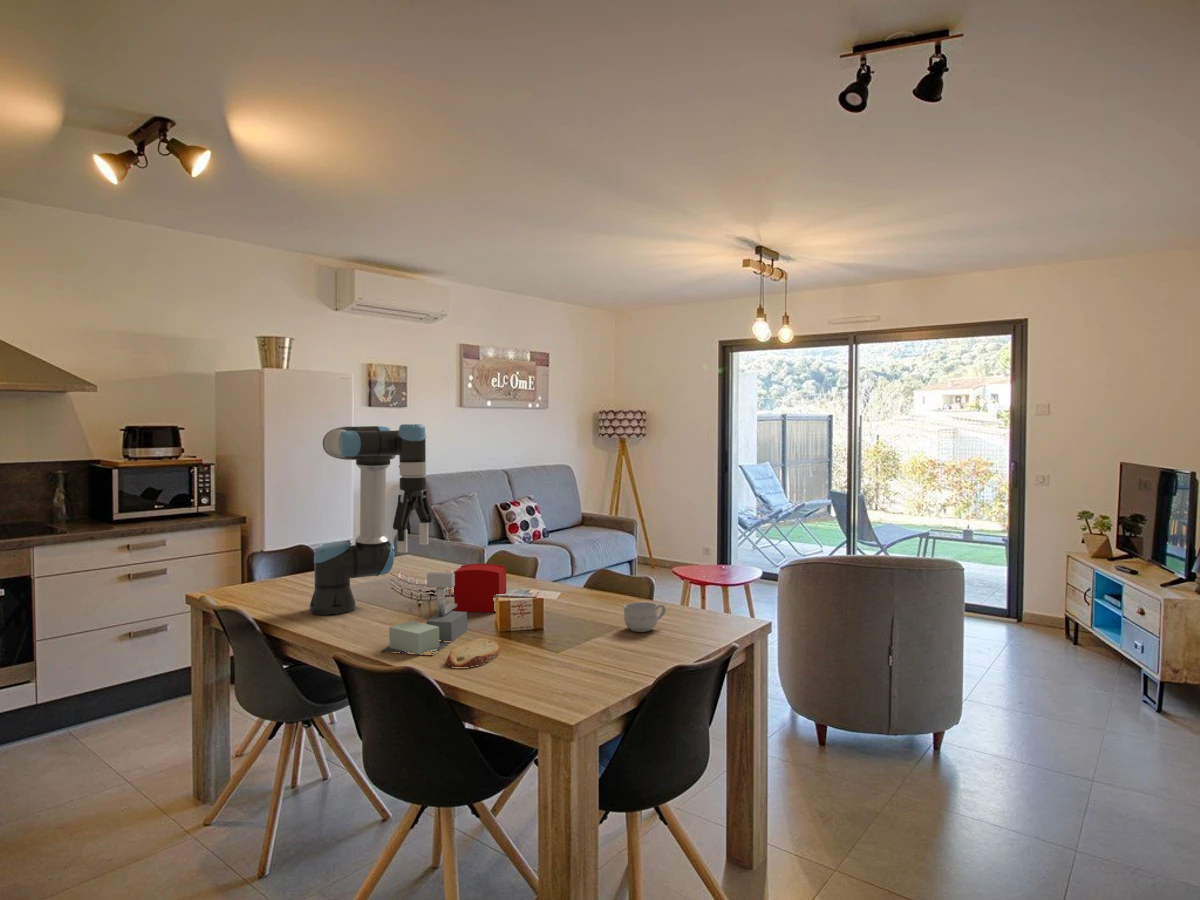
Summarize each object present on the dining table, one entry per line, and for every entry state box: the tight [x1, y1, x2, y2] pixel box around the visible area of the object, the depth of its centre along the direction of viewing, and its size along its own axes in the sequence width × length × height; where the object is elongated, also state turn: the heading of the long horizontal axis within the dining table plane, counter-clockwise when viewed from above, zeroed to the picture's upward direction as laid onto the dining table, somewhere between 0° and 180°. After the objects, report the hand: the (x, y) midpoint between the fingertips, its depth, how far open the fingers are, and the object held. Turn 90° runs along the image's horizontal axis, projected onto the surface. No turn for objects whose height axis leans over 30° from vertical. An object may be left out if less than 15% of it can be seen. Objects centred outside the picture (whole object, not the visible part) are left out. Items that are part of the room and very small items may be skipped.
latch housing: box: [426, 610, 468, 642], centre depth 220 cm, size 8×12×6 cm, turn 168°
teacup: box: [623, 601, 667, 633], centre depth 226 cm, size 14×11×8 cm
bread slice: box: [446, 637, 501, 667], centre depth 201 cm, size 18×18×4 cm
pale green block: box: [388, 620, 439, 654], centre depth 207 cm, size 12×8×6 cm, turn 58°
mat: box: [380, 641, 451, 654], centre depth 208 cm, size 16×12×1 cm
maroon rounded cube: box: [453, 563, 507, 613], centre depth 252 cm, size 16×11×15 cm
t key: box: [426, 571, 457, 616], centre depth 224 cm, size 11×8×13 cm
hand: (413, 548), depth 210 cm, fingers open, 13 cm apart
